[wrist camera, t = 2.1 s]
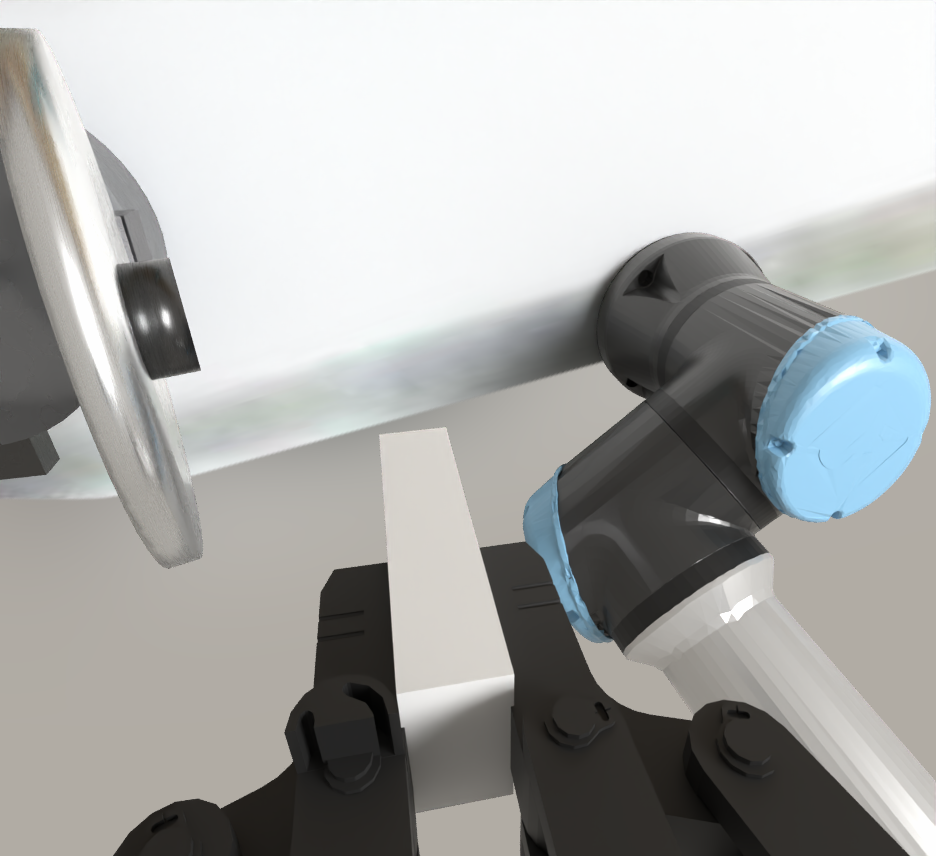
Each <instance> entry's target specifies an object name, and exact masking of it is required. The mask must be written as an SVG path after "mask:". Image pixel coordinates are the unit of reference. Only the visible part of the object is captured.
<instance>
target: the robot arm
mask: <svg viewBox="0 0 936 856" xmlns="http://www.w3.org/2000/svg"><path fill="white" fill-rule="evenodd" d="M597 340H598V346H599V350H600V354H601V356H602V359H603V361H604V363H605V365H606V366H607V368H608V369H609V371H610V372H611V373H612V374H613V375H614V376H615V377H616V378H617V379H618V381H620V383H621V384H622V385H624V386H625V387H626V388H627V389H628V390H630V391H632V392H633V393H635V394H637V395H639V396H641V397H643V398H646V400H645V401H643V402H642V403H641V404H640V405H638V406H637V407H636V408H635V409H634V410H632V411H631V412H630V413H629V414H627V415H626V416H625V417H624V418H623V419H621V420H620V421H619V422H618V423H617V424H615V425H614V426H613V427H611V428H610V429H609V430H608V431H607V432H605V433H604V434H603V435H602V436H600V437H599V438H598V439H597V440H595V441H594V442H593V443H592V444H590V445H589V446H588V447H587V448H586V449H584V450H583V451H582V452H580V453H579V454H578V455H577V456H575V457H574V458H573V459H572V460H571V461H569V462H568V463H567V464H563V465H561V466H560V467H559V468H558V469H557V470H556V472H555V473H554V476H553V477H552V478H551V479H549V480H548V481H547V482H546V483H545V484H544V485H543V486H542V487H541V488H540V489H538V490H537V491H536V492H535V493H534V494H533V495H532V496H531V497H530V499H529V500H528V502H527V504H526V506H525V510H524V516H523V518H524V520H523V530H524V535H525V540H526V542H519V543H512V544H504V545H497V546H490V547H482V548H479V545H478V541H477V537H476V534H475V530H474V527H473V523H472V519H471V516H470V512H469V508H468V505H467V502H466V498H465V494H464V491H463V487H462V483H461V479H460V476H459V472H458V469H457V465H456V461H455V458H454V454H453V451H452V447H451V443H450V439H449V436H448V432H447V428H446V427H442V428H433V429H424V430H415V431H406V432H397V433H388V434H380V435H379V438H380V454H381V469H382V484H383V498H384V513H385V529H386V545H387V559H388V562H387V563H379V564H372V565H365V566H358V567H351V568H343V569H336V570H334V571H333V573H332V574H331V576H330V578H329V579H328V581H327V583H326V584H325V586H324V588H323V589H322V591H321V597H320V609H319V623H318V636H317V639H318V643H317V649H316V662H315V675H314V676H315V677H314V688H313V689H311V690H310V691H309V692H307V693H306V694H305V695H304V696H303V697H302V698H301V700H300V701H299V702H298V704H297V705H296V706H295V708H294V709H293V710H292V711H291V714H290V717H289V720H288V723H287V726H286V729H285V736H286V739H287V742H288V746H289V749H290V752H291V755H292V759H293V762H292V764H291V765H290V766H289V767H288V768H287V769H286V770H285V771H284V772H283V773H282V774H280V775H279V776H278V777H277V778H276V779H274V780H272V781H271V782H269V783H268V784H266V785H265V786H263V787H262V788H260V789H258V790H256V791H254V792H252V793H250V794H248V795H246V796H244V797H242V798H241V799H239V800H236V801H234V802H233V803H231V804H229V805H227V806H225V807H223V808H221V809H220V808H219V807H218V806H217V805H216V804H213V803H210V802H207V801H204V800H200V799H192V800H185V801H179V802H174V803H172V804H170V805H168V806H166V807H164V808H162V809H160V810H158V811H156V812H154V813H152V814H151V815H149V816H148V817H147V818H146V819H145V820H144V821H143V822H141V823H140V824H139V825H138V826H137V827H136V828H135V829H133V830H132V831H131V832H130V833H129V834H128V836H127V837H126V838H125V840H124V841H123V843H122V844H121V846H120V847H119V848H118V850H117V851H116V853H115V854H114V855H113V856H420V854H419V847H418V839H417V827H416V815H415V813H418V812H424V811H429V810H434V809H439V808H444V807H449V806H455V805H460V804H465V803H470V802H475V801H480V800H485V799H490V798H496V797H500V796H505V795H511V794H513V782H514V786H515V790H516V795H517V799H518V803H519V808H520V812H521V831H520V855H521V856H936V781H935V780H934V779H933V778H932V777H931V776H930V774H929V773H928V772H927V771H926V770H925V769H924V768H923V766H922V765H921V764H920V763H919V762H918V761H917V759H916V758H915V757H914V756H913V755H912V754H911V752H910V751H909V750H908V749H907V748H906V747H905V746H904V744H903V743H902V742H901V741H900V740H899V739H898V738H897V736H896V735H895V734H894V733H893V732H892V731H891V729H890V728H889V727H888V726H887V725H886V724H885V723H884V721H883V720H882V719H881V718H880V717H879V716H878V714H877V713H876V712H875V711H874V710H873V709H872V708H871V706H870V705H869V704H868V703H867V702H866V701H865V700H864V698H863V697H862V696H861V695H860V694H859V693H858V691H857V690H856V689H855V688H854V687H853V686H852V685H851V683H850V682H849V681H848V680H847V679H846V678H845V676H844V675H843V674H842V673H841V672H840V671H839V670H838V669H837V667H836V666H835V665H834V664H833V663H832V661H831V660H830V659H829V658H828V657H827V656H826V655H825V653H824V652H823V651H822V650H821V649H820V648H819V646H817V644H816V643H815V642H814V641H813V640H812V638H811V637H810V636H809V635H808V634H807V633H806V632H805V631H804V629H803V628H802V627H801V626H800V625H799V623H798V622H797V621H796V620H795V619H794V618H793V616H792V615H791V614H790V613H789V612H788V611H787V610H786V608H785V607H784V606H783V605H782V604H781V603H780V602H779V601H778V599H777V598H776V596H775V594H774V592H773V573H774V558H773V556H772V555H771V554H770V553H769V552H768V551H767V550H766V549H765V547H764V546H763V545H762V544H761V543H760V542H759V541H758V540H757V539H756V538H755V534H756V533H757V532H758V531H760V530H761V529H762V528H764V527H765V526H766V525H768V524H769V523H770V522H772V521H773V520H775V519H776V518H777V517H779V516H781V515H782V514H786V515H788V516H790V517H793V518H797V519H800V520H802V521H807V522H816V523H817V522H826V521H828V519H829V518H830V517H833V518H836V519H840V518H844V517H846V516H849V515H851V514H853V513H855V512H857V511H859V510H861V509H862V508H864V507H866V506H868V505H869V504H870V503H872V502H873V501H874V500H876V499H877V498H878V497H879V496H881V495H882V494H883V493H884V492H885V491H886V490H887V489H888V488H889V487H890V486H891V485H892V484H893V483H894V482H895V481H896V480H897V479H898V478H899V477H900V475H901V474H902V473H903V472H904V470H905V469H906V467H907V466H908V464H909V463H910V461H911V460H912V458H913V457H914V455H915V452H916V451H917V449H918V447H919V445H920V443H921V440H922V439H921V437H922V433H923V431H924V429H925V427H926V425H927V422H928V419H929V413H930V404H931V395H930V385H929V380H928V377H927V374H926V372H925V369H924V367H923V365H922V363H921V362H920V360H919V359H918V357H917V356H916V355H915V354H914V353H913V352H912V351H911V350H910V349H909V348H908V347H907V346H905V345H904V344H902V343H901V342H899V341H897V340H896V339H894V338H892V337H890V336H888V335H886V334H884V333H882V332H880V331H879V330H877V329H875V328H874V327H873V326H872V325H871V324H870V323H869V322H867V321H863V319H861V318H859V317H856V316H848V315H845V314H842V313H840V312H838V311H835V310H833V309H830V308H828V307H826V306H823V305H821V304H818V303H816V302H814V301H811V300H809V299H806V298H804V297H802V296H799V295H797V294H794V293H792V292H789V291H787V290H785V289H782V288H780V287H777V286H775V285H772V284H771V283H770V282H769V280H768V279H767V278H766V277H765V275H764V274H763V272H762V270H761V269H760V267H759V266H758V264H757V262H756V261H755V260H754V258H753V257H752V256H751V255H750V254H749V253H748V252H746V251H745V250H744V249H742V248H741V247H740V246H738V245H736V244H734V243H732V242H730V241H728V240H725V239H722V238H719V237H717V236H714V235H710V234H705V233H682V234H677V235H673V236H669V237H667V238H664V239H661V240H659V241H657V242H655V243H653V244H651V245H649V246H648V247H646V248H645V249H643V250H642V251H640V252H639V253H638V254H636V255H635V256H634V257H633V258H632V259H631V260H630V261H629V262H628V263H627V264H626V265H625V266H624V267H623V268H622V269H621V270H620V271H619V273H618V274H617V275H616V277H615V278H614V280H613V281H612V283H611V285H610V286H609V288H608V290H607V292H606V294H605V296H604V299H603V301H602V304H601V307H600V311H599V316H598V322H597ZM571 625H572V626H573V627H574V628H575V629H576V630H577V631H578V632H579V633H580V634H581V635H582V636H583V637H585V638H586V639H588V640H590V641H591V642H595V643H602V642H611V641H613V640H614V641H615V642H616V644H617V645H618V647H619V648H620V650H621V651H622V653H623V655H624V656H625V657H626V659H628V660H632V661H635V662H639V663H643V664H647V665H651V666H654V667H656V668H658V669H659V670H661V671H663V672H664V674H665V675H666V677H667V678H668V680H669V681H670V682H671V684H672V685H673V687H674V688H675V690H676V691H677V692H678V694H679V695H680V697H681V698H682V700H683V701H684V703H685V704H686V705H687V707H688V708H689V710H690V711H691V713H692V714H693V719H692V721H691V720H684V719H677V718H669V717H663V716H656V715H649V714H645V713H641V712H637V711H634V710H632V709H629V708H627V707H625V706H623V705H621V704H619V703H618V702H616V701H615V700H614V699H612V698H611V697H609V696H608V695H607V694H606V693H605V692H604V691H603V690H602V689H601V688H600V686H599V685H598V684H597V683H596V681H595V679H594V677H593V676H592V674H591V672H590V670H589V667H588V665H587V663H586V660H585V658H584V655H583V653H582V651H581V648H580V646H579V643H578V641H577V638H576V636H575V633H574V631H573V629H572V626H571Z"/></svg>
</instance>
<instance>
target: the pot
mask: <svg viewBox="0 0 936 856" xmlns="http://www.w3.org/2000/svg"><path fill="white" fill-rule="evenodd" d="M85 131H86V134H87V137H88V139H89V142H90V145H91V147H92V150H93V153H94V156H95V159H96V161H97V164H98V167H99V170H100V173H101V175H102V178H103V181H104V184H105V187H106V190H107V193H108V196H109V198H110V201H111V204H112V207H113V210H114V213H115V216H119V217H121V220H122V223H123V227H124V230H125V233H126V236H127V239H128V243H129V246H130V249H131V252H132V255H133V259H134V262H139V261H147V260H155V259H162V258H167V252H166V247H165V243H164V238H163V234H162V231H161V229H160V226H159V223H158V220H157V217H156V215H155V213H154V211H153V209H152V207H151V205H150V203H149V201H148V199H147V197H146V196H145V194H144V192H143V191H142V189H141V188H140V186H139V185H138V183H137V181H136V180H135V179H134V177H133V176H132V175H131V174H130V172H129V171H128V170H127V169H126V167H125V166H124V165H123V164H122V162H121V161H120V160H119V159H118V158H117V157H116V156H115V155H114V154H113V153H112V152H111V151H110V150H109V149H108V148H107V147H106V146H105V145H104V144H102V143H101V142H100V141H99V140H98V139H96V138H95V137H94V136H93V135H92V134H91V133H89V132H88V131H87V130H85ZM79 406H80V403H79V401H78V398H77V396H76V393H75V391H74V388H73V385H72V382H71V380H70V377H69V374H68V371H67V368H66V366H65V363H64V360H63V357H62V355H61V352H60V349H59V346H58V344H57V341H56V338H55V335H54V332H53V329H52V326H51V323H50V320H49V317H48V314H47V311H46V308H45V305H44V302H43V299H42V296H41V293H40V290H39V287H38V283H37V280H36V277H35V274H34V270H33V267H32V264H31V260H30V257H29V254H28V251H27V247H26V244H25V241H24V238H23V234H22V231H21V227H20V223H19V220H18V216H17V212H16V209H15V205H14V202H13V198H12V194H11V191H10V187H9V183H8V179H7V175H6V171H5V167H4V163H3V159H2V154H1V150H0V480H2V479H11V478H20V477H29V476H38V475H47V473H48V472H49V471H50V470H51V469H52V467H53V466H54V465H55V464H56V463H57V462H58V460H59V456H58V454H57V452H56V450H55V447H54V445H53V443H52V441H51V438H50V436H49V434H48V432H47V430H48V429H50V428H51V427H53V426H55V425H56V424H58V423H60V422H61V421H63V420H64V419H65V418H67V417H68V416H69V415H70V414H71V413H73V412H74V411H75V410H76V409H77V408H78V407H79Z"/></svg>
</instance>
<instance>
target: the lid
mask: <svg viewBox="0 0 936 856" xmlns="http://www.w3.org/2000/svg"><path fill="white" fill-rule="evenodd" d="M0 150H1V154H2V159H3V163H4V167H5V171H6V175H7V179H8V183H9V187H10V191H11V194H12V198H13V202H14V205H15V209H16V212H17V216H18V220H19V223H20V227H21V231H22V234H23V238H24V241H25V244H26V247H27V251H28V254H29V257H30V260H31V264H32V267H33V270H34V274H35V277H36V280H37V283H38V287H39V290H40V293H41V296H42V299H43V302H44V305H45V308H46V311H47V314H48V317H49V320H50V323H51V326H52V329H53V332H54V335H55V338H56V341H57V344H58V346H59V349H60V352H61V355H62V357H63V360H64V363H65V366H66V368H67V371H68V374H69V377H70V380H71V382H72V385H73V388H74V391H75V393H76V396H77V398H78V401H79V403H80V406H81V409H82V411H83V414H84V416H85V419H86V421H87V424H88V426H89V429H90V432H91V434H92V437H93V439H94V441H95V444H96V446H97V448H98V451H99V453H100V455H101V458H102V460H103V463H104V465H105V467H106V470H107V472H108V474H109V476H110V479H111V481H112V483H113V485H114V487H115V489H116V491H117V494H118V496H119V498H120V500H121V502H122V504H123V506H124V508H125V510H126V512H127V514H128V516H129V518H130V520H131V522H132V524H133V526H134V527H135V529H136V531H137V533H138V535H139V536H140V538H141V540H142V541H143V543H144V544H145V546H146V548H147V549H148V551H149V552H150V553H151V555H152V556H153V557H154V558H155V560H156V561H157V562H158V563H159V564H160V565H162V566H163V567H164V568H168V569H169V568H172V567H176V566H179V565H182V564H185V563H188V562H191V561H195V560H198V559H200V558H201V557H202V554H203V553H202V552H203V541H202V533H201V526H200V520H199V514H198V509H197V503H196V499H195V494H194V489H193V484H192V480H191V476H190V471H189V467H188V463H187V459H186V454H185V450H184V446H183V442H182V438H181V434H180V431H179V427H178V423H177V419H176V415H175V412H174V408H173V404H172V400H171V397H170V393H169V389H168V386H167V382H166V379H165V378H166V377H171V376H176V375H181V374H186V373H191V372H196V371H201V369H200V365H199V362H198V358H197V355H196V351H195V348H194V344H193V340H192V337H191V333H190V330H189V326H188V323H187V319H186V316H185V312H184V309H183V305H182V302H181V298H180V295H179V291H178V287H177V284H176V280H175V277H174V273H173V270H172V266H171V263H170V259H169V258H162V259H155V260H147V261H139V262H134V259H133V255H132V252H131V249H130V246H129V243H128V239H127V236H126V233H125V230H124V227H123V223H122V220H121V217H119V216H115V213H114V210H113V207H112V204H111V201H110V198H109V196H108V193H107V190H106V187H105V184H104V181H103V178H102V175H101V173H100V170H99V167H98V164H97V161H96V159H95V156H94V153H93V150H92V147H91V145H90V142H89V139H88V137H87V134H86V131H85V129H84V126H83V123H82V121H81V118H80V115H79V113H78V110H77V108H76V105H75V103H74V100H73V98H72V95H71V93H70V90H69V88H68V85H67V83H66V81H65V78H64V76H63V74H62V71H61V69H60V67H59V65H58V63H57V60H56V58H55V56H54V54H53V52H52V50H51V48H50V46H49V44H48V43H47V41H46V39H45V37H44V36H43V35H42V33H41V32H40V31H39V30H37V29H16V28H0Z"/></svg>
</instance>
